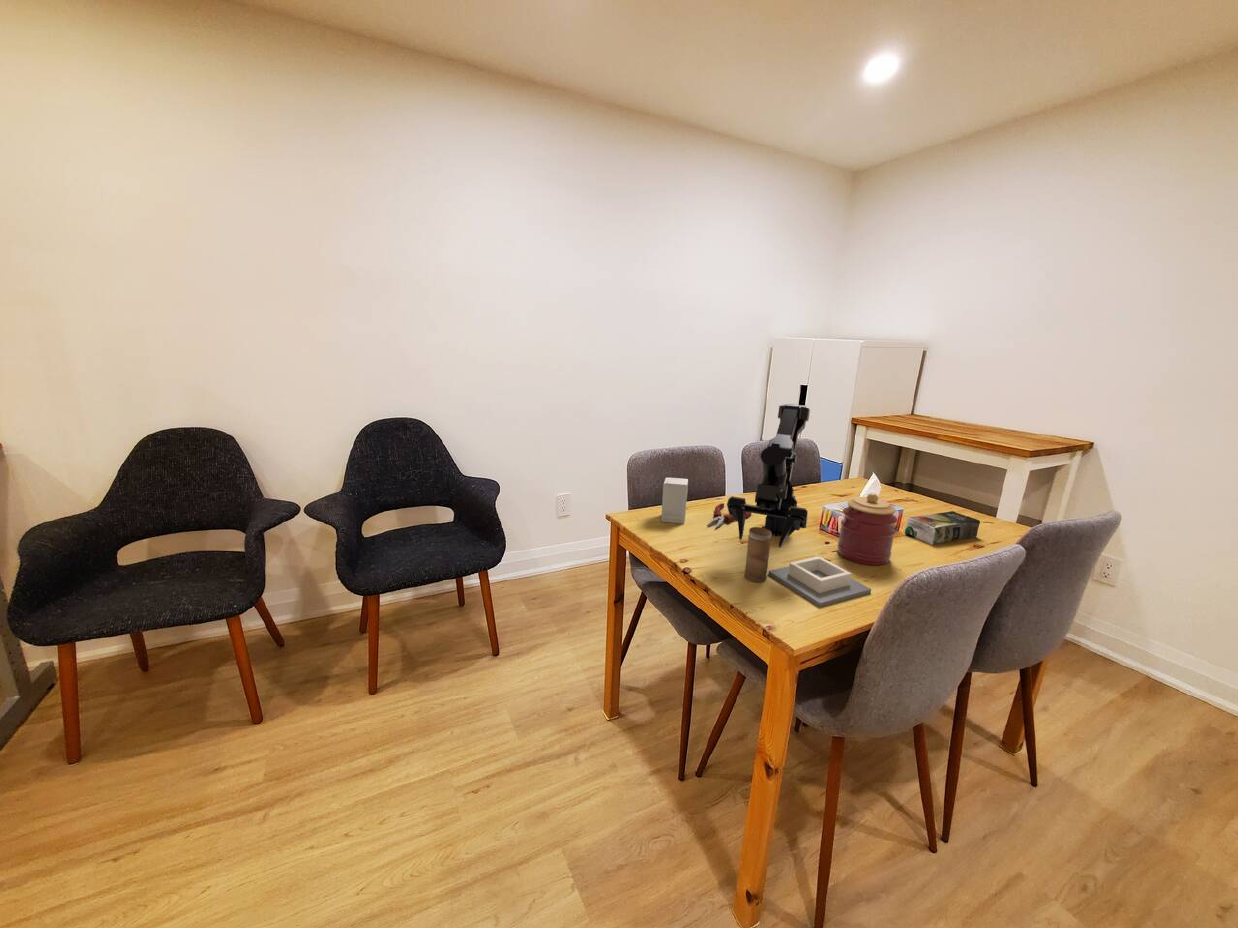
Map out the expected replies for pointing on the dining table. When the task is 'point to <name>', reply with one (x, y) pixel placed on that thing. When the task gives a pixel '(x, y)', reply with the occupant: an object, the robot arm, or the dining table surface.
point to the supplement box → (674, 500)
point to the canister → (867, 530)
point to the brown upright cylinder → (757, 554)
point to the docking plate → (819, 581)
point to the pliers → (726, 518)
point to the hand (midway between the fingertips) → (759, 543)
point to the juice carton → (942, 527)
